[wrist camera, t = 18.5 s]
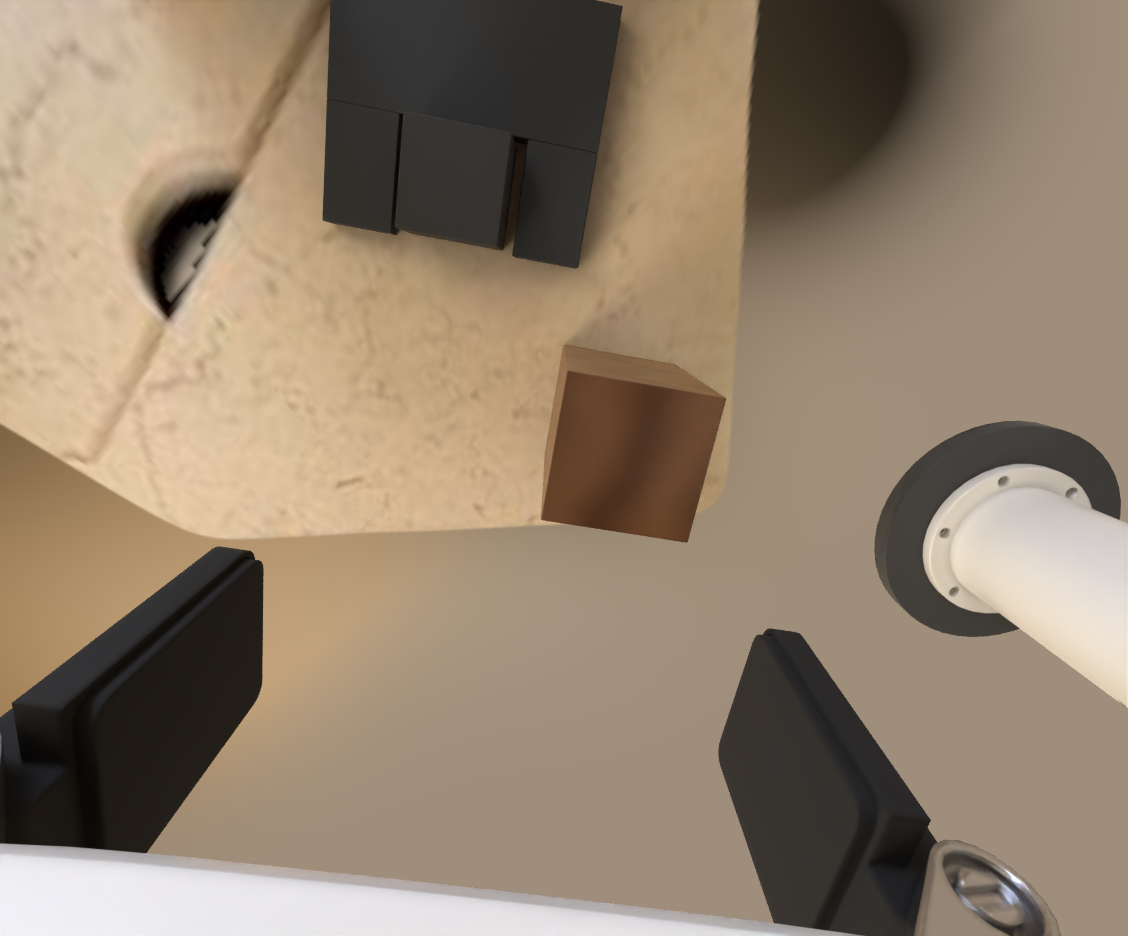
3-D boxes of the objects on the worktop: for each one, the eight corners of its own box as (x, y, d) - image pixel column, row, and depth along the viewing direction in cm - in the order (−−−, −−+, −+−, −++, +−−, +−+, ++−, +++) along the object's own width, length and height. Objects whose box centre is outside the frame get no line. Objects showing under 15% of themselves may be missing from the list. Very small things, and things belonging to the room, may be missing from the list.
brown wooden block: (676, 364, 39) (726, 398, 27) (651, 471, 41) (687, 543, 30) (563, 344, 38) (567, 370, 27) (544, 454, 41) (540, 520, 29)
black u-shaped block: (619, 18, 32) (622, 5, 31) (576, 268, 37) (577, 268, 35) (342, -43, 31) (332, -59, 30) (331, 222, 36) (322, 220, 34)
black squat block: (516, 148, 35) (512, 131, 31) (503, 250, 36) (497, 247, 33) (419, 129, 34) (403, 109, 30) (411, 233, 36) (394, 227, 32)
